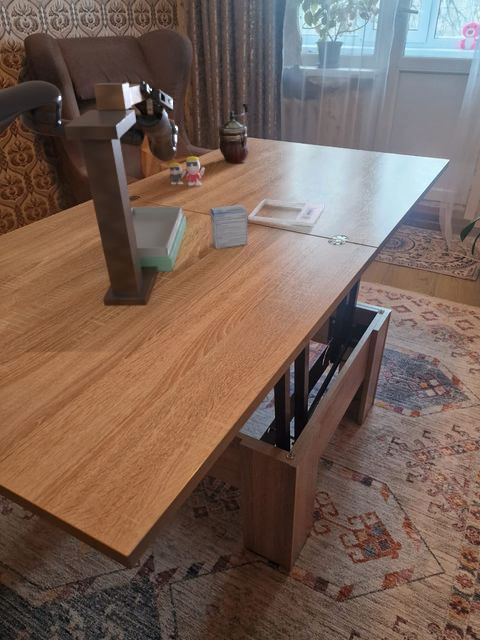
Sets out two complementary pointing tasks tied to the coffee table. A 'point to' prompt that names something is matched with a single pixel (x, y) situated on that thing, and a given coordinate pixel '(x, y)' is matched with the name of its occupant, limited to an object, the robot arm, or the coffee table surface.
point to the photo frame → (304, 218)
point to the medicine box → (229, 226)
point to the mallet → (117, 95)
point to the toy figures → (191, 167)
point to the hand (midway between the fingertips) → (133, 86)
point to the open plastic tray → (158, 235)
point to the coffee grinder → (234, 139)
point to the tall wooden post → (113, 203)
